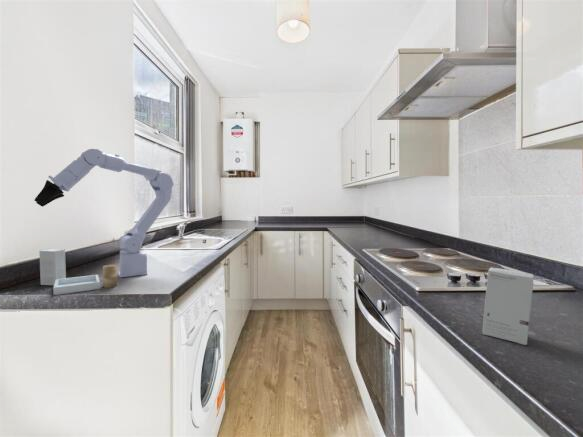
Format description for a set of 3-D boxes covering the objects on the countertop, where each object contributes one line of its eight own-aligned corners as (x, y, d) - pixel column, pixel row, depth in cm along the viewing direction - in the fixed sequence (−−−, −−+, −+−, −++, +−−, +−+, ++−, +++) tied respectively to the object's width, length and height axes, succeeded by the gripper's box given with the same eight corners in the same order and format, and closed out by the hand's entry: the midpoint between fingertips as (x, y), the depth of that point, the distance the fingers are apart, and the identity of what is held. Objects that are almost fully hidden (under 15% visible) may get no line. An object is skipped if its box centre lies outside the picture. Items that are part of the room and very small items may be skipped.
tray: (98, 280, 106) (97, 274, 106) (100, 288, 96) (99, 282, 96) (55, 285, 98) (55, 279, 98) (53, 295, 89) (53, 287, 89)
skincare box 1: (66, 282, 103) (65, 249, 102) (55, 285, 99) (54, 251, 98) (51, 281, 104) (50, 248, 103) (39, 285, 99) (38, 250, 99)
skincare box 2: (482, 334, 66) (485, 270, 65) (485, 326, 70) (488, 266, 69) (529, 346, 60) (533, 276, 59) (530, 336, 65) (533, 271, 64)
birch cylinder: (116, 283, 102) (115, 264, 102) (117, 286, 99) (117, 266, 99) (102, 285, 100) (102, 265, 99) (103, 288, 97) (103, 267, 96)
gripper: (60, 170, 105) (28, 197, 99) (60, 162, 93) (23, 192, 87) (79, 184, 108) (48, 211, 102) (81, 177, 96) (46, 207, 90)
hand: (38, 203), depth 95 cm, fingers open, 7 cm apart
